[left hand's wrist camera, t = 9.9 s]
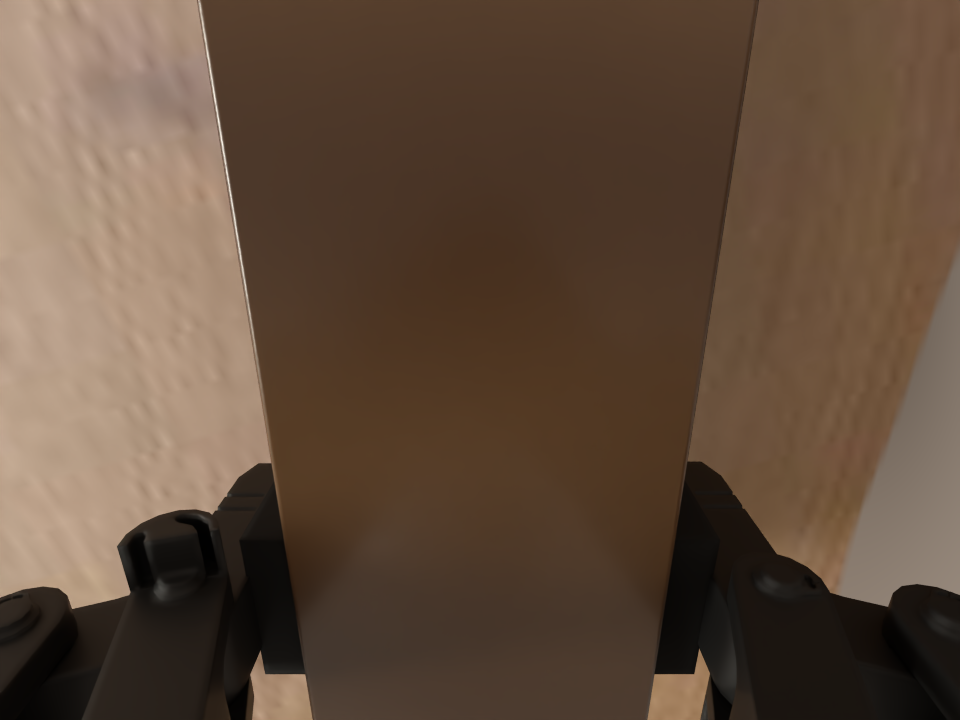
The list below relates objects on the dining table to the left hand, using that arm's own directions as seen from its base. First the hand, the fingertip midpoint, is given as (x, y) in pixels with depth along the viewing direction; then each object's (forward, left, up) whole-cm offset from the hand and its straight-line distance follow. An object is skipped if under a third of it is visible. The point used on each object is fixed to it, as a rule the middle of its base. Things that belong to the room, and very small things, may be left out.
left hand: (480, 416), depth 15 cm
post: (+22, +5, -1) cm, 23 cm away
